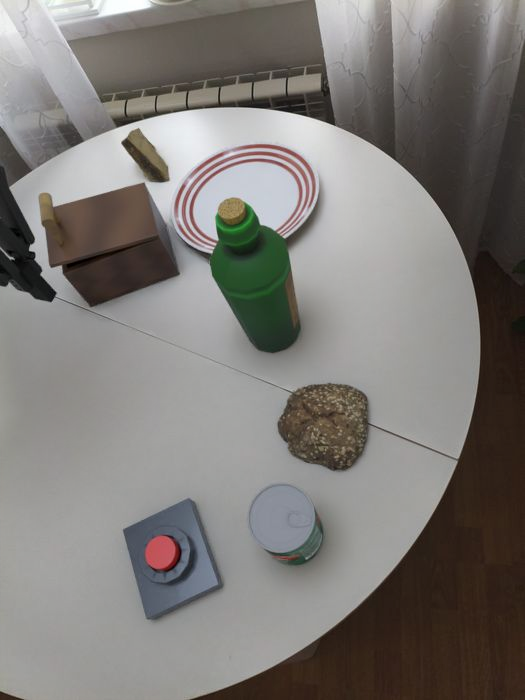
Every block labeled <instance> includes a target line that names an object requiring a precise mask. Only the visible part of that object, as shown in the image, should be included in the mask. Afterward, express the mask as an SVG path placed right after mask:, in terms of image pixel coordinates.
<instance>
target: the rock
mask: <svg viewBox="0 0 525 700" xmlns="http://www.w3.org/2000/svg"><path fill="white" fill-rule="evenodd" d="M120 145H122V147H123V148H124V150H125V151H126V152H127V154H128V155H129V156H130V157H131V158H132V159H133V161H134V162H135V164H136V165H138V167H139V168H140V170H141V171H142V173H143V174H144V176H145V177H146V178H147V179H148V181H150V182H160V183H161V182H162V183H163V182H167V181H168V182H169V181H170V179H171V178H170V177H169V170H168V165H167V163H166V162H165V160H164V159H163V157H161V155H160V154H159V153H158V152H157V150H156V147H155V145H153V143H152V142H151V141H149V139H148V138H147V137H146V136H145V134H144V133H143V132H142V130H141V128H139V127H138V128H135V129H132V130H131V131H129V133H128V135H127V136H126V137H125V138H124V139H122V140H121V142H120Z"/></svg>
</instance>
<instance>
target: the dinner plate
mask: <svg viewBox="0 0 525 700" xmlns="http://www.w3.org/2000/svg"><path fill="white" fill-rule="evenodd" d="M319 194H320V178H319V175H318V171H317V169H316V167H315V165H314V164H313V162H312V161H311V160H310V158H308V156H306V155H305V154H304V153H302V152H301V151H300V150H298V149H296V148H294V147H292V146H290V145H286V144H283V143H279V142H274V141H250V142H243V143H238V144H234V145H231V146H227V147H225V148H223V149H222V148H221V150H218V151H216V152H214V153H212V154H211V155H208V156H206V157H205V158H204V159H202V160H201V161H200V162H198V163H197V164H195V166H193V167H192V168H191V169H190V170H189V171H188V172H187V173H186V174H185V175H184V177H183V178H182V179H181V181H180V182H179V184H178V185H177V187H176V189H175V192H174V193H173V196H172V200H171V205H170V217H171V222H172V225H173V227H174V230H175V231H176V233H177V234H178V236H179V237H180V238H181V239H182V240H183V241H184V242H185V243H186V244H187V245H189V246H190V247H192V248H194V249H196V250H198V251H200V252H203V253H207V254H210V255H212V253H213V250H214V248H215V246H216V244H217V242H218V240H219V239H218V235H217V230H216V221H215V216H216V214H217V212H218V207H219V205H220V203H222V202H223V201H224V200H225V199H229V198H232V197H234V198H240V199H241V200H242V201H244V202H246V203H247V204H248V205H250V206H251V207H252V209H253V210H254V212H255V213H256V215H257V216H258V218H259V222H260V225H265V226H267V227H270V228H272V229H273V230H274V231H276V232H277V233H278V234H279V235H281V236H282V237H283V238H285V239H287V238H288V237H290V236H291V235H292V234H294V233H295V232H296V231H298V229H299V228H300V227H301V226H303V224H304V223H305V222H306V221H307V220H308V218H309V217H310V215H312V212H313V210H314V209H315V206H316V204H317V201H318V197H319Z"/></svg>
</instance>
